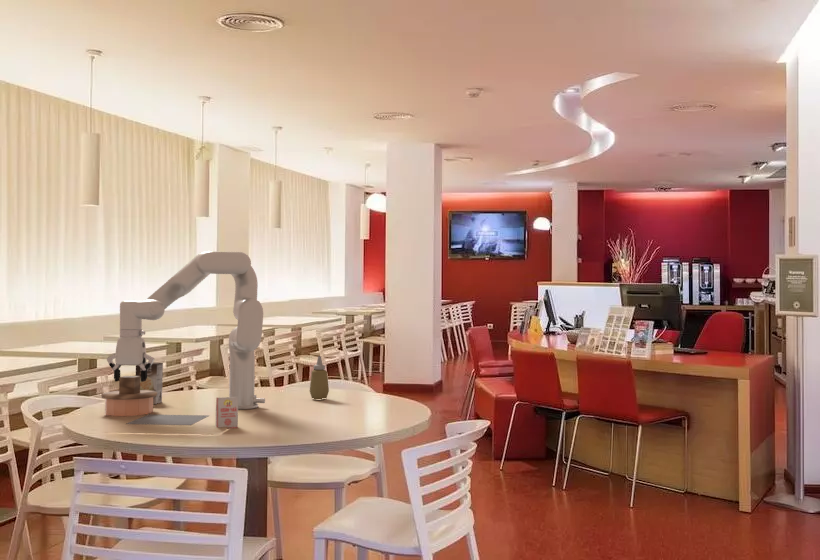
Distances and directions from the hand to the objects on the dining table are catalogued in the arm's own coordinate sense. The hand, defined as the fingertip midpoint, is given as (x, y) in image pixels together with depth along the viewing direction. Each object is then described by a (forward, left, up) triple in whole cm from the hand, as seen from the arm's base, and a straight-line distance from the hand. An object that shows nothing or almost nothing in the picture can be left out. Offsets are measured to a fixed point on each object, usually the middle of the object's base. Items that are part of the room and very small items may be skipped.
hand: (130, 381), depth 280 cm
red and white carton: (-43, +24, -12) cm, 51 cm away
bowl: (0, 0, -12) cm, 12 cm away
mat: (-20, +14, -12) cm, 27 cm away
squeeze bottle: (-62, -45, -12) cm, 77 cm away
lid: (0, 0, -5) cm, 5 cm away
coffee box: (+4, -28, -12) cm, 31 cm away
